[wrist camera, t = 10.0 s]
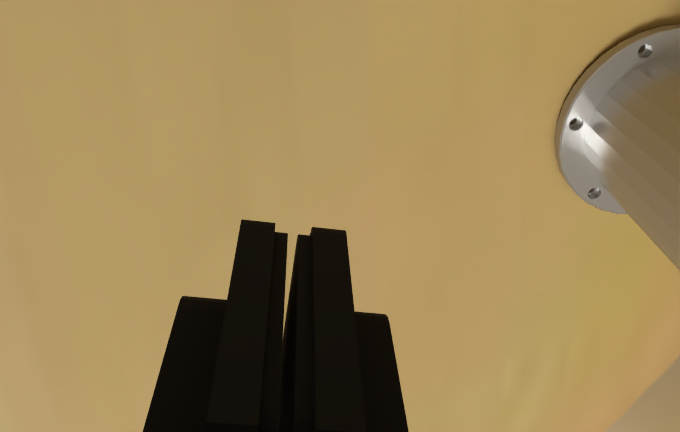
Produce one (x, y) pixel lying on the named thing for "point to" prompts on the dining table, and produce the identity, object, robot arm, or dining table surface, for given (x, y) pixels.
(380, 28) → the dining table surface
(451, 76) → the dining table surface
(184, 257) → the dining table surface
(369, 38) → the dining table surface
